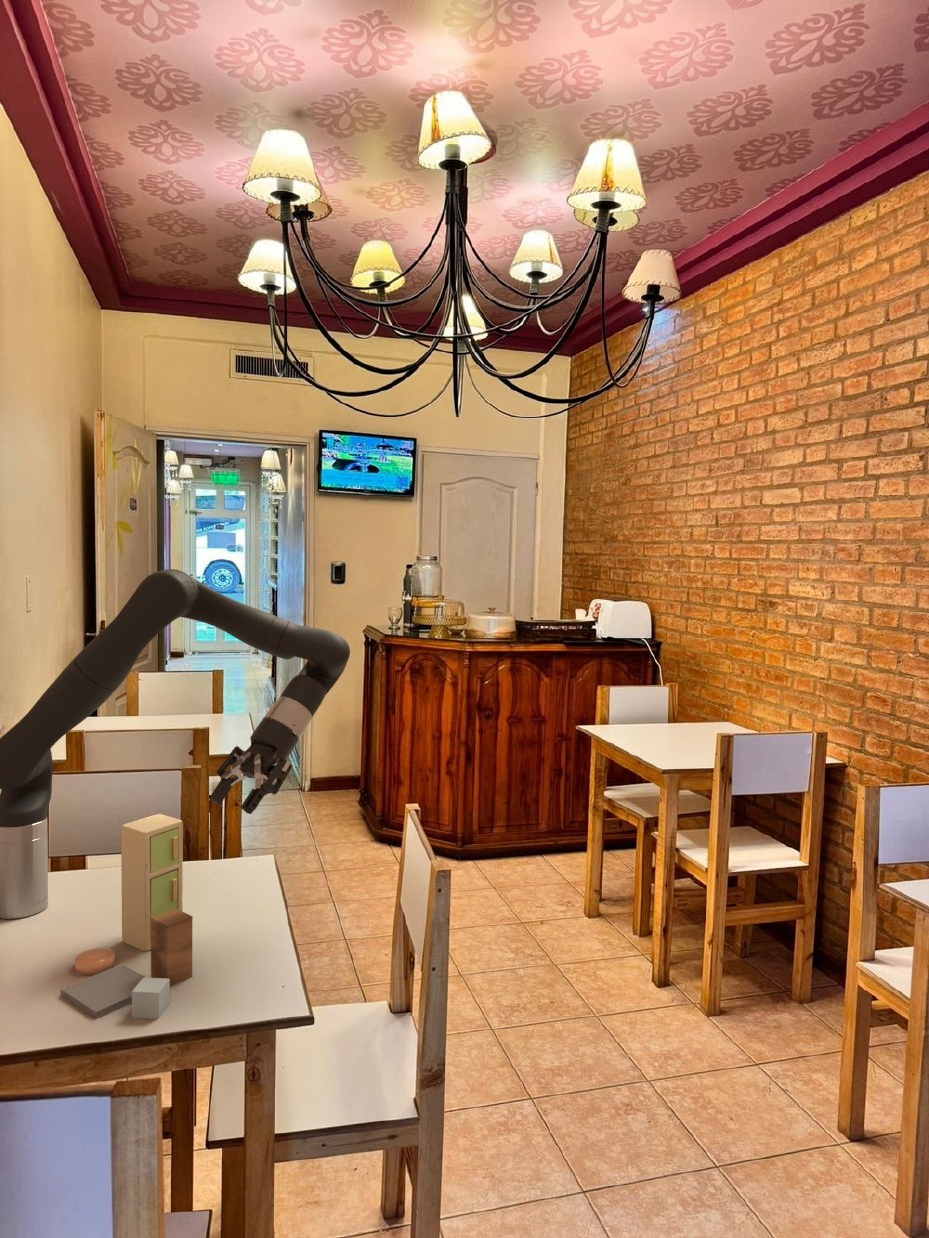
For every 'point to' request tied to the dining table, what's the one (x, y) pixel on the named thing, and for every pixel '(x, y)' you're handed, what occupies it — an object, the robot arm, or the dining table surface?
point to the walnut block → (171, 946)
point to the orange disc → (94, 961)
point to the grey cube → (150, 998)
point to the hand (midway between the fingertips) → (229, 806)
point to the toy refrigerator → (150, 874)
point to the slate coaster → (103, 990)
